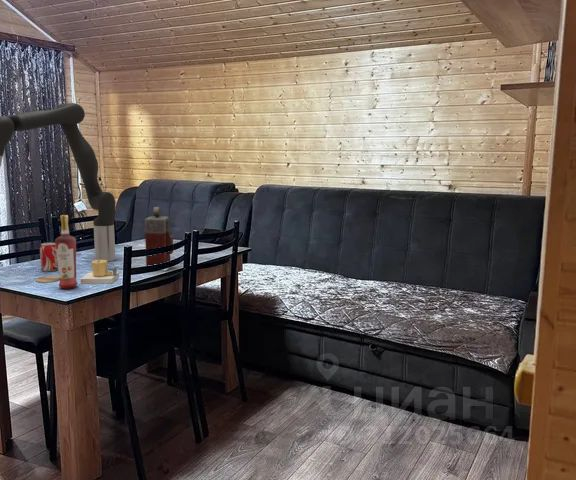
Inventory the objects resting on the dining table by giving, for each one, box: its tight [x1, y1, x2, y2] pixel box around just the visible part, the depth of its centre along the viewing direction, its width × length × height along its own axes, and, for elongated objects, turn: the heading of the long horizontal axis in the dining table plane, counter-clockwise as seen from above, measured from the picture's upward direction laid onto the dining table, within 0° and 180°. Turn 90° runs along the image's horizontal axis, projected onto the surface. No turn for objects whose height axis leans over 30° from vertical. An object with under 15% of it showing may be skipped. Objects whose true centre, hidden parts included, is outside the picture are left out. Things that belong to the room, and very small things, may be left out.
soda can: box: [39, 242, 58, 273], centre depth 228 cm, size 7×7×12 cm
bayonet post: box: [79, 266, 120, 285], centre depth 212 cm, size 12×12×7 cm
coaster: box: [35, 275, 60, 284], centre depth 212 cm, size 9×9×1 cm
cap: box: [91, 259, 113, 276], centre depth 211 cm, size 6×8×6 cm
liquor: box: [54, 214, 79, 290], centre depth 198 cm, size 7×7×28 cm
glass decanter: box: [144, 206, 174, 266], centre depth 232 cm, size 9×11×28 cm
